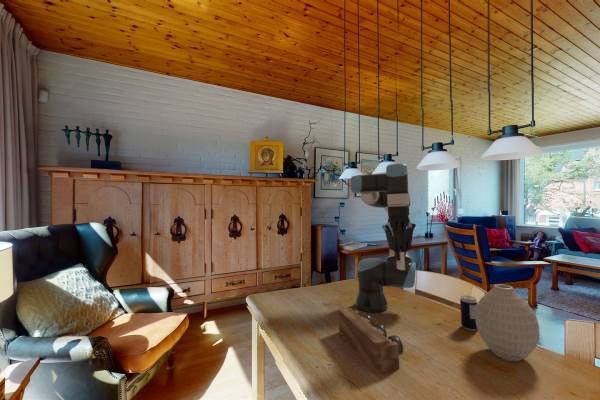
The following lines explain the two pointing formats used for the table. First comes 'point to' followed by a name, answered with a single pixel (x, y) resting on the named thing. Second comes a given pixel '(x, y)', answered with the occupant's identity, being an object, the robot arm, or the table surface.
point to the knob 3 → (398, 341)
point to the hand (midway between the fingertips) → (400, 269)
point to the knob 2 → (381, 327)
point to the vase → (507, 323)
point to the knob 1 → (368, 318)
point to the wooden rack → (369, 341)
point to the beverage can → (468, 312)
